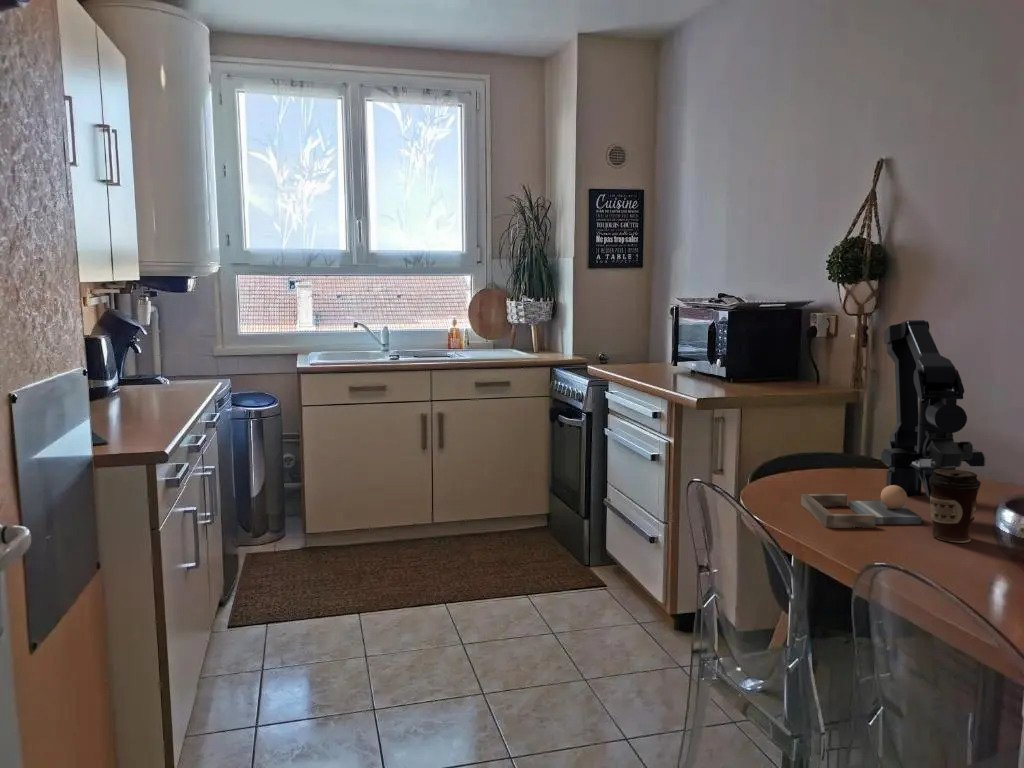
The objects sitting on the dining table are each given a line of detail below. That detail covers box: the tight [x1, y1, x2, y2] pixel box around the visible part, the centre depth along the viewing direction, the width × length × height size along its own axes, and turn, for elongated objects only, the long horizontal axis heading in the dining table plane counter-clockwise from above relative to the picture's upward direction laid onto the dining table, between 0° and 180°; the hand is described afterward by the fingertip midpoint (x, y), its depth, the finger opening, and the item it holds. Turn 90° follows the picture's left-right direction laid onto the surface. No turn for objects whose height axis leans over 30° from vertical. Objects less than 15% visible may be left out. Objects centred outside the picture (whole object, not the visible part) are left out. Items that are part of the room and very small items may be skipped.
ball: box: [880, 485, 908, 509], centre depth 162 cm, size 5×5×5 cm
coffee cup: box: [929, 469, 982, 544], centre depth 147 cm, size 9×8×13 cm
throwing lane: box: [800, 493, 922, 529], centre depth 163 cm, size 20×16×2 cm
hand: (930, 497), depth 162 cm, fingers closed
